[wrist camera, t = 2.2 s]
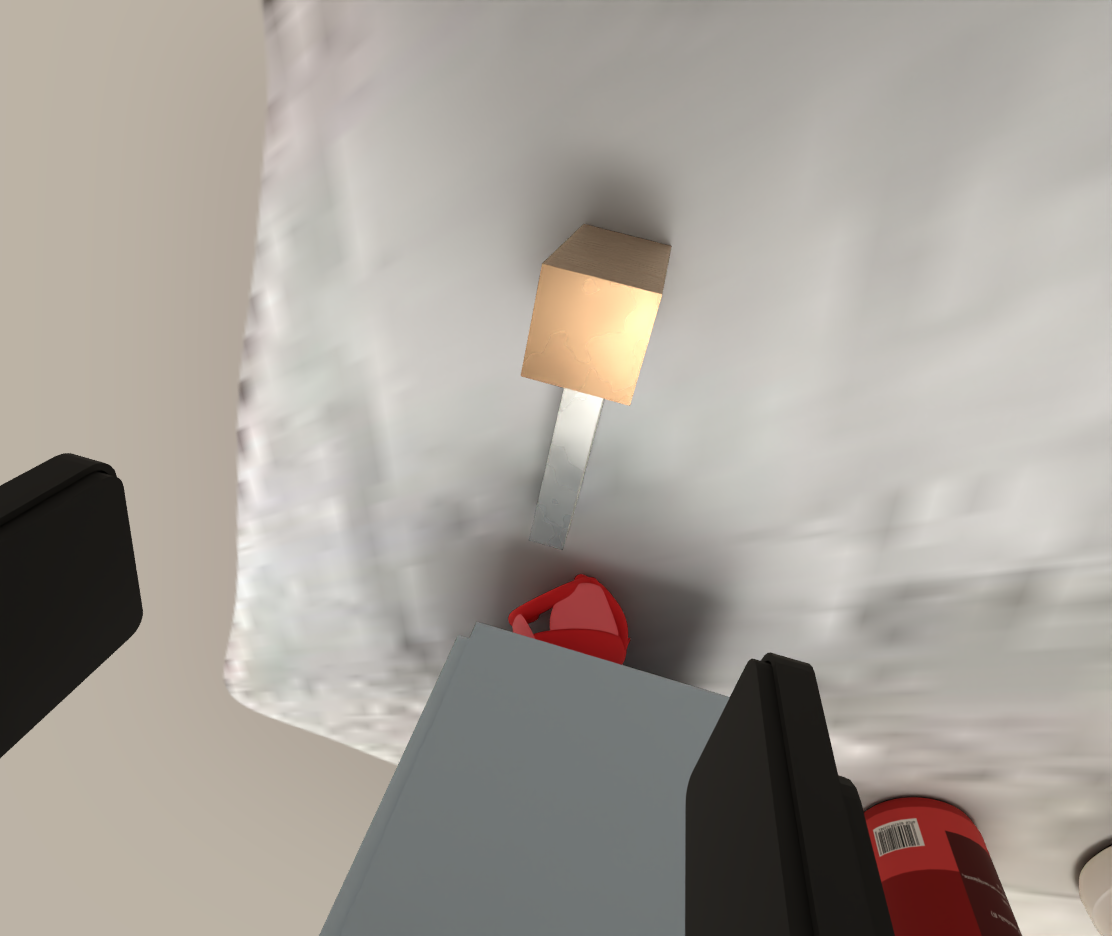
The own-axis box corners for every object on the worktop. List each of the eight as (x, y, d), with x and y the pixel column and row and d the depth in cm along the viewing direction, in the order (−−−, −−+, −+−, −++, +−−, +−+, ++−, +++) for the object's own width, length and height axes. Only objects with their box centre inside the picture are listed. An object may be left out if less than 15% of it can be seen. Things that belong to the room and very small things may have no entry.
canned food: (831, 849, 45) (866, 1044, 36) (878, 779, 41) (932, 977, 32) (942, 881, 45) (1009, 1088, 35) (1002, 813, 41) (1095, 1026, 31)
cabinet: (496, 514, 37) (209, 1078, 15) (768, 592, 36) (875, 1316, 14) (462, 689, 45) (237, 1234, 23) (686, 758, 44) (675, 1397, 22)
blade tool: (583, 223, 29) (542, 263, 21) (671, 245, 28) (662, 294, 21) (524, 499, 36) (477, 603, 28) (592, 518, 36) (564, 629, 28)
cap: (468, 628, 37) (511, 728, 36) (517, 598, 33) (569, 711, 32) (568, 584, 42) (609, 670, 41) (623, 552, 38) (670, 648, 37)
